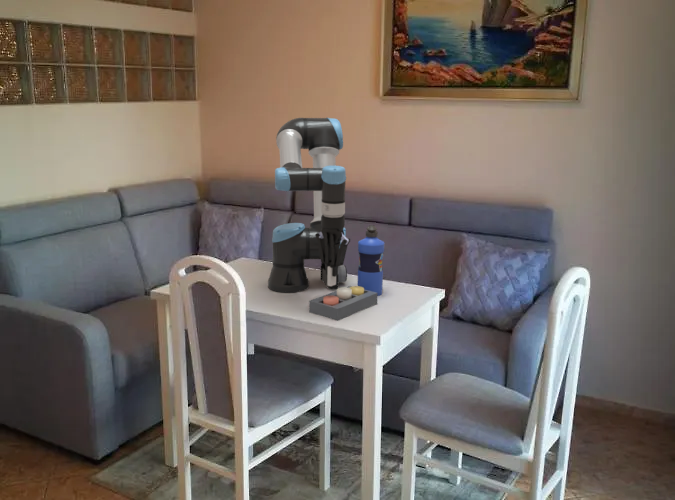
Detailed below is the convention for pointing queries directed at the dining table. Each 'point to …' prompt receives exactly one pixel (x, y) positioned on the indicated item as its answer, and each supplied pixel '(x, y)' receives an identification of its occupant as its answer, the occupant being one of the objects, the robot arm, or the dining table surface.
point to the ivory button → (344, 293)
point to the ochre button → (357, 290)
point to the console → (343, 305)
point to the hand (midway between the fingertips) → (331, 284)
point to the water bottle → (371, 261)
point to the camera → (339, 278)
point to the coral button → (331, 300)
